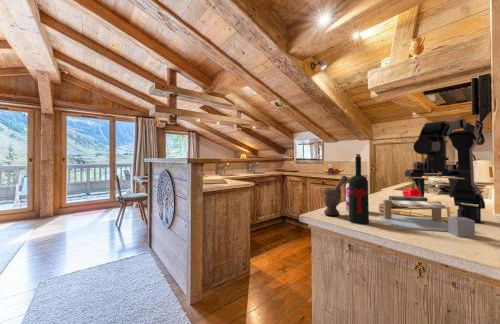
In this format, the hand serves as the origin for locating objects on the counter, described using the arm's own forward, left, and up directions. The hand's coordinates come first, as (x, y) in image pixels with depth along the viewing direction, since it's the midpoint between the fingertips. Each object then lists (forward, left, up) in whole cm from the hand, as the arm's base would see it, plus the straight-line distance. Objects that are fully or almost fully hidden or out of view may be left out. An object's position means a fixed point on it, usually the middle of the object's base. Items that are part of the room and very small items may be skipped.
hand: (436, 196), depth 82 cm
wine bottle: (+25, -9, -14) cm, 29 cm away
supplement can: (+21, -32, -14) cm, 41 cm away
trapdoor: (+1, -16, -5) cm, 17 cm away
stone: (-7, +2, -13) cm, 15 cm away
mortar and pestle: (+32, -23, -14) cm, 42 cm away
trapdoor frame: (+1, -10, -13) cm, 17 cm away
